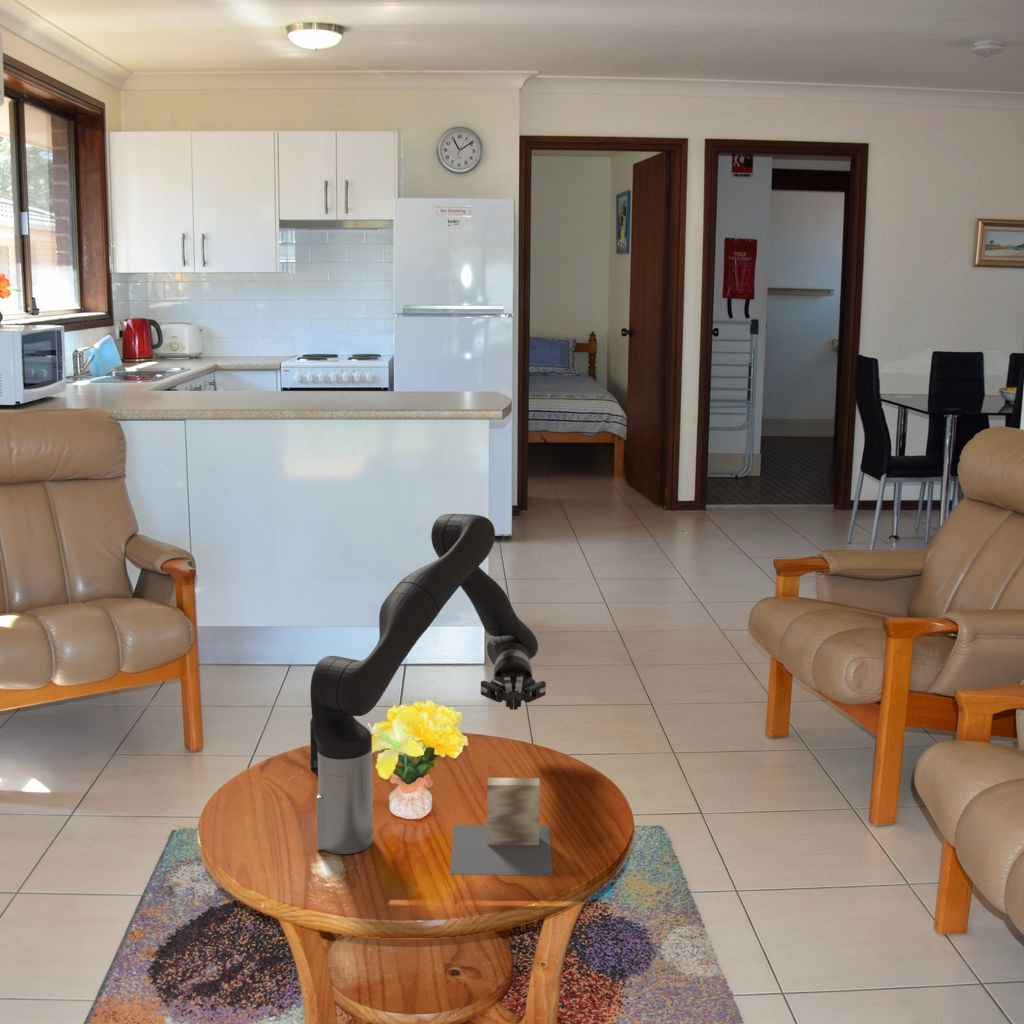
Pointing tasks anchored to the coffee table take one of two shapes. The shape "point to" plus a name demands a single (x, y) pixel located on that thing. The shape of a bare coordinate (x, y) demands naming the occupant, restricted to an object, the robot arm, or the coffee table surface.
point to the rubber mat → (498, 854)
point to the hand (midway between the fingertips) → (513, 704)
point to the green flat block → (513, 811)
